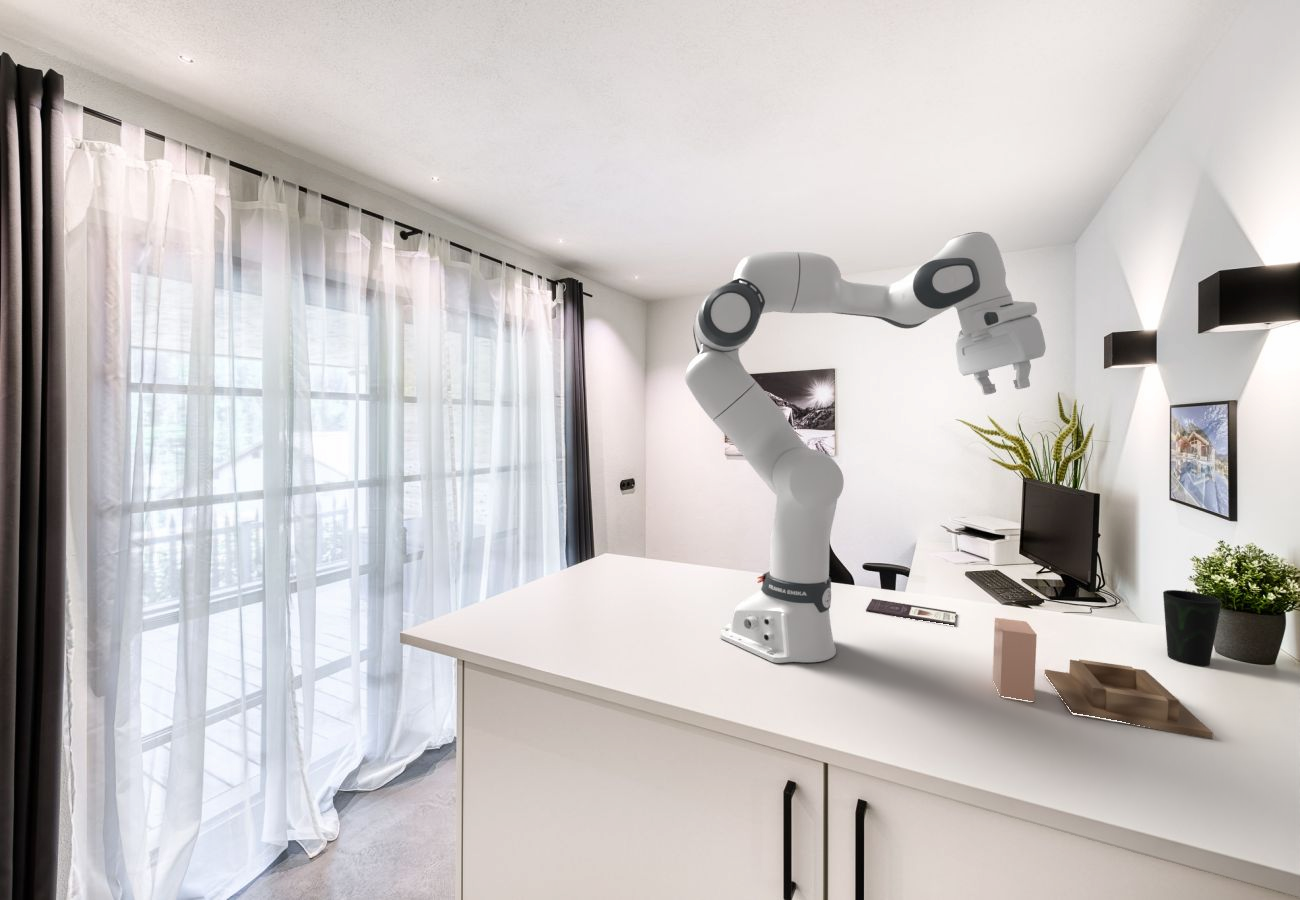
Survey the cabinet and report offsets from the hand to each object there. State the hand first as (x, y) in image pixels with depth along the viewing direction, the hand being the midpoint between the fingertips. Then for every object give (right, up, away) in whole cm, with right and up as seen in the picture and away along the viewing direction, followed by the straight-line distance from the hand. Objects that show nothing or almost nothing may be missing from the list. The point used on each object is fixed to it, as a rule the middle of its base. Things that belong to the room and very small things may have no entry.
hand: (1005, 391), depth 101 cm
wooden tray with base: (+7, -51, -16) cm, 54 cm away
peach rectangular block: (-7, -51, -13) cm, 53 cm away
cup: (+34, -50, 0) cm, 61 cm away
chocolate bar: (-6, -49, +24) cm, 55 cm away
